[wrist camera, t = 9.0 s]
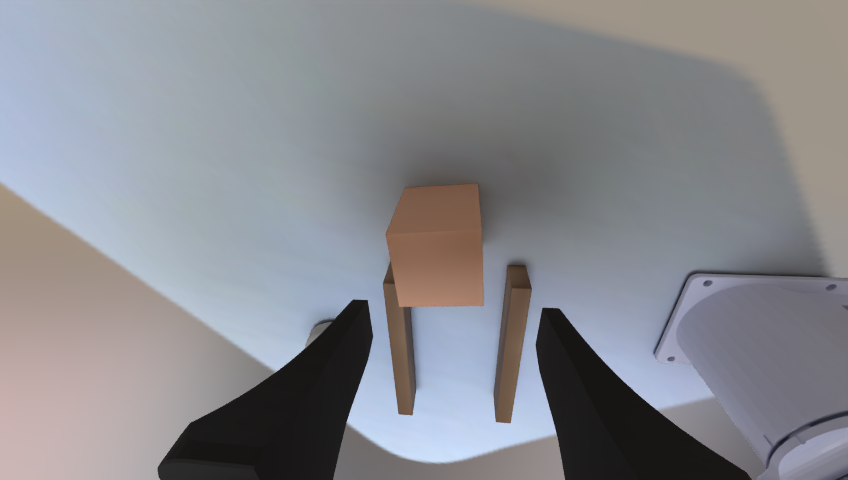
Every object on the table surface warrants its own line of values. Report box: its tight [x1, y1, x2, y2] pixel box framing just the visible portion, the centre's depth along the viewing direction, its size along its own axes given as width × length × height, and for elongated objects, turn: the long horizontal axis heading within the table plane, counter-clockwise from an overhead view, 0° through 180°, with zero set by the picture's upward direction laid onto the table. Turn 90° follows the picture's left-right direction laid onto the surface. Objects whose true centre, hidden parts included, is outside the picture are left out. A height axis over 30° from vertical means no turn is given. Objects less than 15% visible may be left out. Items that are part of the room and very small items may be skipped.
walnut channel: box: [383, 262, 532, 423], centre depth 26 cm, size 9×14×2 cm
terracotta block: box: [386, 183, 484, 307], centre depth 19 cm, size 4×4×6 cm
